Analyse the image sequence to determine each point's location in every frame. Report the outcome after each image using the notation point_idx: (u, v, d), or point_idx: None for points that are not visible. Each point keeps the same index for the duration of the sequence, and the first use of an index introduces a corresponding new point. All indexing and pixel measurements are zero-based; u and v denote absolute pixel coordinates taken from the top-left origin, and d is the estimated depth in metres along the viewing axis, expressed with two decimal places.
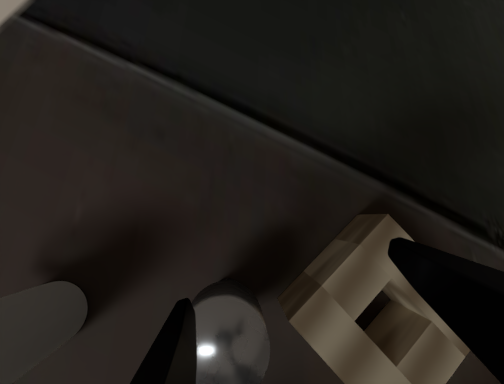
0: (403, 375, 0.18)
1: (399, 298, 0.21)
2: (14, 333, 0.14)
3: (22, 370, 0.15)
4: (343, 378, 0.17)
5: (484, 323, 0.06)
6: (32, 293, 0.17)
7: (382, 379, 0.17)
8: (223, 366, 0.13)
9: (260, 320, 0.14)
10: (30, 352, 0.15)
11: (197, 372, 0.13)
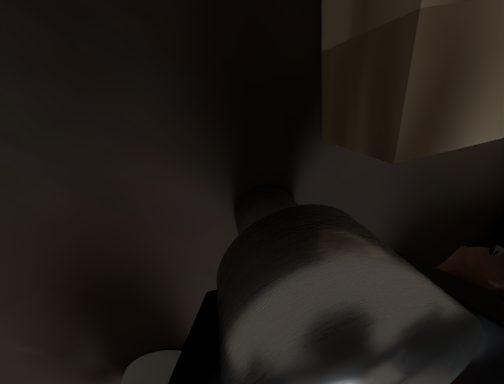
0: None
1: None
2: None
3: None
4: None
5: None
6: None
7: None
8: None
9: (396, 313, 0.03)
10: None
11: None
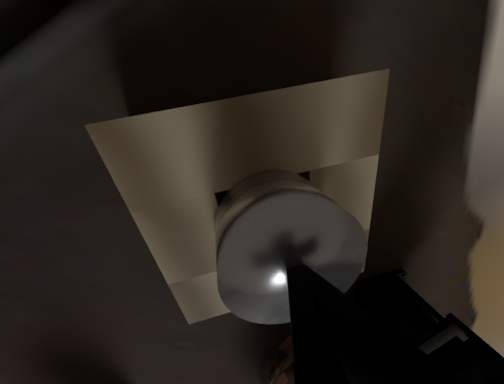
0: None
1: None
2: None
3: None
4: None
5: (352, 370, 0.05)
6: None
7: None
8: None
9: (302, 205, 0.07)
10: None
11: None
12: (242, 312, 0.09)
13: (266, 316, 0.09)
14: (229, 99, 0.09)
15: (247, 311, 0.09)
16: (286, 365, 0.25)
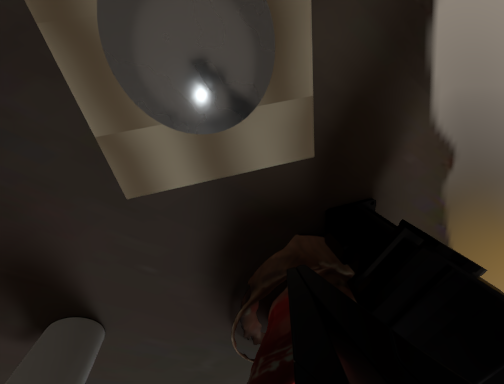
0: (265, 105, 0.13)
1: None
2: None
3: (67, 382, 0.19)
4: (221, 175, 0.14)
5: (352, 370, 0.05)
6: None
7: (251, 134, 0.13)
8: (216, 60, 0.08)
9: None
10: (53, 379, 0.18)
11: (203, 101, 0.09)
12: (142, 100, 0.08)
13: (172, 116, 0.09)
14: None
15: (148, 100, 0.08)
16: (253, 295, 0.24)
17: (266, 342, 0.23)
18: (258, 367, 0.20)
